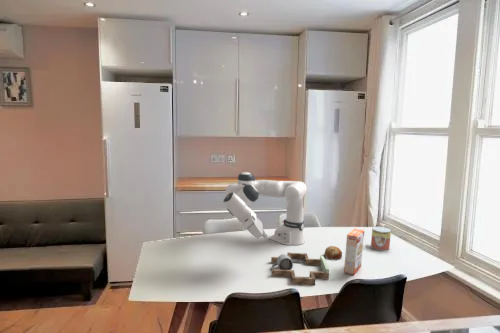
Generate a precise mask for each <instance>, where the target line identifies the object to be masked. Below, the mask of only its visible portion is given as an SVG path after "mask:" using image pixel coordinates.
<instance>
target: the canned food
mask: <svg viewBox="0 0 500 333" xmlns="http://www.w3.org/2000/svg"><path fill="white" fill-rule="evenodd" d="M371 230H372V231H371V241H370V247H371V249H374V250H375V251H376V250H377V251H381V252H382V251H384V252H385V251H389V250H390V245H391V234H392V230H391V229H390V228H388V227H384V226H373V227H372V228H371Z"/></svg>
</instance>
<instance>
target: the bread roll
mask: <svg viewBox="0 0 500 333" xmlns="http://www.w3.org/2000/svg"><path fill="white" fill-rule="evenodd" d="M323 256H325V257H326V259H329V260H340V259H341V258H342V257H343V252H342V250H341V249H340V248H339V247H337V246H334V245H329V246H327V247H326V248H325V251H324V254H323Z"/></svg>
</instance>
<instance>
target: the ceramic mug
mask: <svg viewBox="0 0 500 333" xmlns="http://www.w3.org/2000/svg"><path fill="white" fill-rule="evenodd" d="M277 257H278V258H277V262H276V263H272V264H271V265H270V266H271V270H272V269H279V270H293V268H294V263H293V262H292V260H291V259H290V257H289V256H287V254H285V253H284V254H280V255H279V256H277Z"/></svg>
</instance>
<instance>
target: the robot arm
mask: <svg viewBox="0 0 500 333" xmlns="http://www.w3.org/2000/svg"><path fill="white" fill-rule="evenodd" d="M307 191H308V188H307V185H306V183H305V182H303V181H301V180H297V181H296V180H274V179H273V180H270V179H257V177H255V175H254V174H253V173H252V172H249V171H248V172H247V171H244V172H240V173H239V174H238V175H237V183H230V184H229V185H228V186H226V188H225V197H224V199H223V201H222V202H223V204H224V206H225V207H226V210H227V212H228V213H230V214H231V215H232V216H233V217H235V218H236V219H237V221H238V222H239V223H241V225H242V227H243V229H244V230H247V231H248V232H249V233H250V234H251V235H252V236H253V237H254V238H255V239H260V238H263V239H264V240H266V239H268V234H267V233H266V232H265V230H264V228H263V226H264V225H263V224H264V223H263V222H262V221H261V220H260V218H258V217H257V216H258V214H257V213H256V212H255V211H253V209H252V208H251V207H250V206H251V205H252V204H253V203H254V202H256V201H257V200H258V199H259V197H260V196H262V197H269V198H276V199H280V198H281V199H282V198H285V205H286V213H285V214H286V218H285V219H284V220H283V221H282V222H281V223H283V224H281V225H280V226H279V227H277V228H276V229H275V230H274V233H273V235H271V236H270V240H271V241H275V242H276V243H279V244H282V245H285V246H291V245H293V246H299V245H303V244H305V237H304V228H305V227H304V226H305V225H304V224H305V221H304V214H305V213H304V212H305V208H304V202H303V198H304V196H305V195H307Z"/></svg>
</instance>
